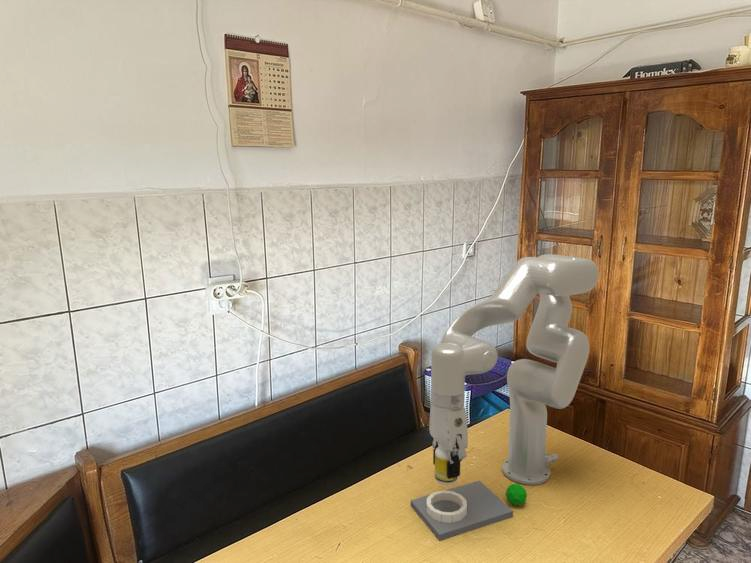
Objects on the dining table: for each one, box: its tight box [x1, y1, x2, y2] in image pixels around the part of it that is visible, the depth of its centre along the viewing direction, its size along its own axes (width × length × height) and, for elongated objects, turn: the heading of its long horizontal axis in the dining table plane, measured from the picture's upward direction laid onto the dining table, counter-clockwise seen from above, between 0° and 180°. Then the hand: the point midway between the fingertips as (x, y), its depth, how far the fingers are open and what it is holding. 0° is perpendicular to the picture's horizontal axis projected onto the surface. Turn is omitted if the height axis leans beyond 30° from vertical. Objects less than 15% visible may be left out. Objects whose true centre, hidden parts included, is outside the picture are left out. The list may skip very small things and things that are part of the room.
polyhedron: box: [505, 483, 528, 506], centre depth 131 cm, size 5×5×5 cm
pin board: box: [410, 480, 514, 542], centre depth 129 cm, size 20×14×4 cm
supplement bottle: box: [434, 443, 459, 486], centre depth 124 cm, size 5×5×10 cm
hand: (446, 469), depth 125 cm, fingers closed on supplement bottle, 5 cm apart
